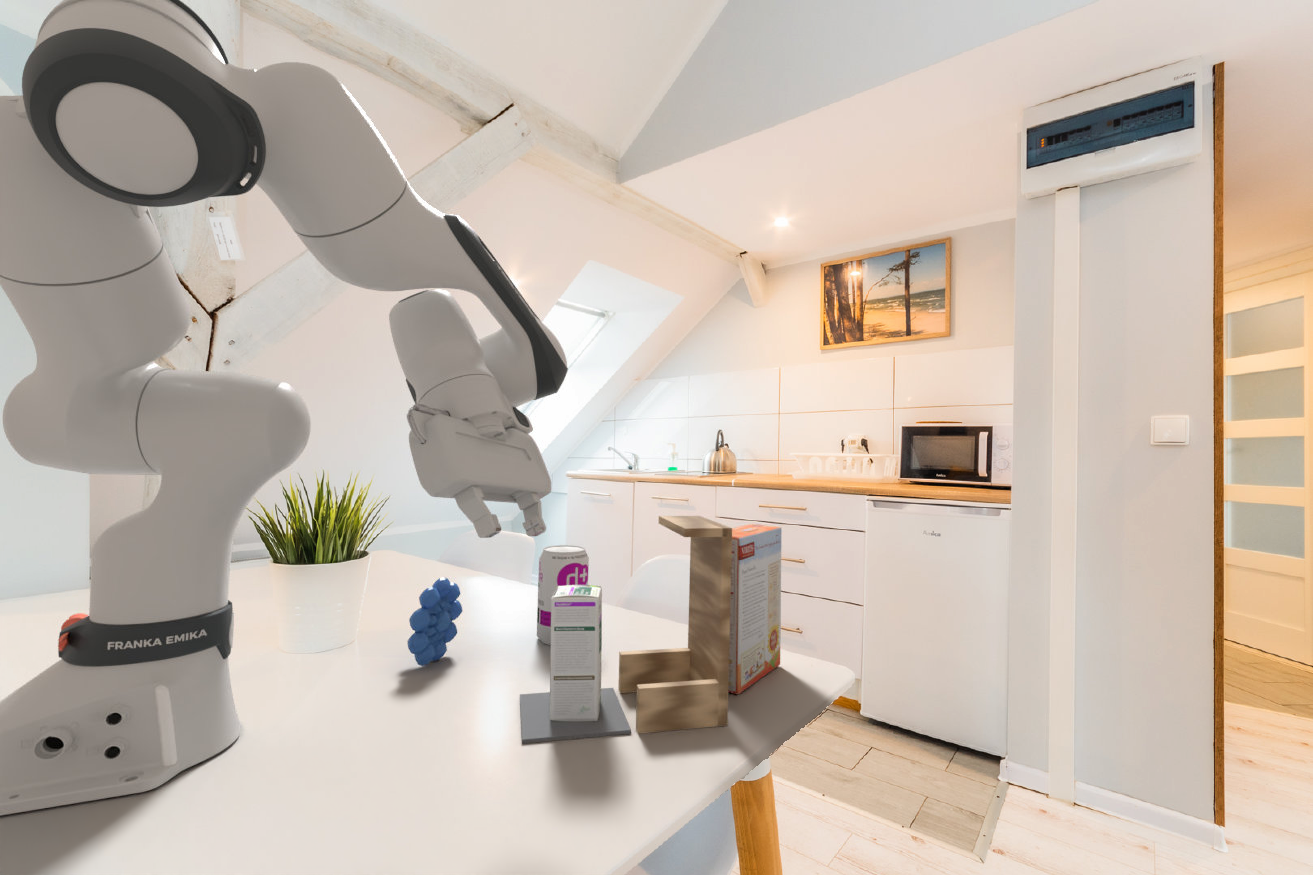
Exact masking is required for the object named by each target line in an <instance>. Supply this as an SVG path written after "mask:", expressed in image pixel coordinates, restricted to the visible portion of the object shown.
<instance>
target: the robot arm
mask: <svg viewBox="0 0 1313 875" xmlns="http://www.w3.org/2000/svg"><path fill="white" fill-rule="evenodd" d="M21 92H22V95H0V287H1V288H2V290H3V291H4V293H5V295H6V297H7V298H8V300H9V301H10V304H12V306H13V308H14V310H15V311H16V313H17V314H18V317H19V318H20V320H21V321H22V323H23V325H24V327H25V329H26V330H27V333H28V334H29V336H30V339H31V340H32V343H33V345H34V348H35V352H36V353H35V354H36V365H35V369H34V370H33V371H32V372H31V373H30V374H28V375H27V376H25V377H24V378H22V379H21V380H20V381H19V383H17V384H16V385H15V386H14V388H13V389H12V390H11V391H10V393H9V395H8V396H7V398H6V400H5V402H4V405H3V409H2V426H3V427H2V428H3V431H4V434H5V436H6V439H7V440H8V442H9V443H10V444H9V445H10V446H11V447H12V448H13V450H14V451H15V452H16V453H17V454H18V455H19V456H20V457H21V458H23V459H24V460H25V461H27V462H29V463H31V464H34V465H39V466H43V467H48V468H53V469H59V470H63V471H69V472H76V473H82V474H88V475H120V476H121V475H123V476H126V475H127V476H129V475H130V476H131V475H133V476H136V475H137V476H139V475H140V476H160V477H161V480H160V485H159V489H158V492H157V494H156V495H155V497H154V499H153V501H152V502H151V503H150V504H149V506H148V507H146V508H144V509H142V510H139V511H137V512H134V513H132V514H129V515H127V516H125V517H123V518H121V519H119V520H117V521H116V522H114V523H112V524H110V525H109V526H108V527H107V528H106V529H105V530H104V531H102V533H101V534H100V535H99V536H98V538H97V539H96V541H95V542H94V544H93V546H92V547H91V548H92V549H91V564H90V565H91V566H90V585H89V586H90V588H89V589H90V590H89V608H88V610H89V612H88V613H89V614H86V613H83V612H82V613H81V612H80V613H78V612H77V613H75V614H72V615H70V616H69V617H68V619H66V620H65V621H64V622H63V623H62V625H61V628H60V632H59V636H58V642H57V647H58V648H57V649H58V650H57V651H58V652H57V653H58V658H60V659H59V660H57V661H56V662H55V663H54V664H52V665H50V666H49V667H47V668H46V669H45V670H43V671H41V672H40V673H39V674H38V675H36V676H34V677H33V678H32V679H31V678H30V680H28V681H27V682H26V683H24V684H23V685H22V686H19V687H18V688H16V690H14V691H13V692H11V693H10V694H8V695H7V696H6V697H4V698H3V699H0V816H5V815H6V816H7V815H11V814H17V813H23V812H30V811H35V810H42V809H46V808H55V807H60V806H67V805H72V804H79V803H84V802H90V801H97V800H103V799H107V798H114V797H115V798H116V797H121V796H127V795H131V794H138V793H139V794H140V793H145V792H147V791H150V790H151V791H152V790H153V789H156V788H158V787H160V786H162V785H163V784H165V783H166V782H168V781H169V780H171V779H172V778H173V777H175V776H176V775H178V774H179V773H181V772H183V771H184V770H186V769H188V768H191V767H192V766H195V765H197V764H199V763H201V762H204V761H206V760H207V759H210V758H213V757H214V756H215V755H217V754H219V753H221V752H222V751H224V750H225V749H226V748H228V747H230V746H231V745H232V744H233V743H234V742H236V740H237V739H238V738H239V737H240V735H241V733H242V724H241V721H240V718H239V714H238V712H237V708H236V704H235V699H234V696H233V695H234V694H233V689H232V683H231V674H230V673H231V672H230V664H229V660H230V659H229V656H230V654H231V652H232V648H233V643H234V642H233V641H234V626H235V624H234V623H235V617H234V616H235V615H234V614H235V613H234V611H233V610H234V609H233V602H232V601H231V600H230V599H229V588H230V587H229V586H230V585H229V584H230V574H231V573H230V572H231V565H232V564H231V563H232V553H233V546H234V540H235V535H236V532H237V531H236V530H237V529H238V528H237V527H238V525H239V522H240V519H241V518H242V515H243V513H244V512H245V510H246V508H247V507H248V506H249V503H250V501H251V500H252V499H253V498H254V497H255V495H256V494H257V493H258V492H259V491H260V489H261V488H262V487H264V486H265V484H266V483H268V482H269V481H270V480H272V478H274V477H275V476H277V475H278V474H280V473H281V472H283V471H285V470H286V469H288V468H289V467H290V466H291V465H293V464H294V463H295V462H296V461H297V460H298V459H299V457H300V456H301V454H302V453H303V452H304V451H305V448H306V447H307V445H308V442H309V439H310V434H311V427H312V426H311V424H312V423H311V417H310V413H309V409H308V407H307V405H306V402H305V401H304V399H303V398H302V396H301V395H300V394H299V392H297V390H296V389H295V388H294V387H293V386H292V385H291V384H289V383H287V382H285V381H280V380H275V379H271V378H267V377H263V376H258V375H253V374H248V373H244V372H233V371H230V372H229V371H213V370H212V371H210V370H209V371H205V370H191V369H190V370H187V369H172V368H165V367H162V366H161V365H159V364H157V363H156V362H155V361H156V360H158V359H160V358H161V357H163V356H164V355H166V354H168V353H169V352H170V351H173V349H175V348H176V347H177V346H179V345H180V343H181V342H182V341H183V340H184V338H185V337H186V336H187V333H188V331H189V327H190V324H191V318H192V316H191V306H190V303H189V302H188V299H187V297H186V295H185V291H184V290H183V287H182V285H181V282H180V280H179V278H178V275H177V272H176V270H175V268H174V265H173V263H172V261H171V258H170V255H169V254H168V251H167V248H166V246H165V243H164V242H163V238H162V236H161V234H160V232H159V229H158V228H157V224H156V223H155V221H154V220H155V219H154V218H153V216H152V214H151V211H150V208H152V207H153V208H164V207H165V208H167V207H177V206H183V205H187V204H192V203H194V202H195V203H196V202H199V201H202V200H205V199H208V198H219V197H231V196H239V195H243V194H246V193H248V192H250V191H251V190H252V189H253V188H254V186H255V185H257V186H258V188H260V189H261V190H262V191H263V193H265V195H267V197H269V199H270V201H272V203H273V204H274V205H275V207H276V208H277V209H278V211H279V212H280V213H281V215H282V216H283V217H284V219H285V220H286V222H287V223H288V225H289V226H290V227H291V229H292V230H293V232H294V233H295V234H296V235H297V237H298V238H299V239H300V240H301V242H302V243H303V245H304V246H305V248H306V249H308V251H309V252H310V253H311V255H312V256H313V257H314V258H315V259H316V260H317V261H318V263H319V264H321V265H322V266H323V268H325V269H326V271H328V273H331V274H332V276H334V277H335V278H336V279H339V280H341V281H343V282H345V283H347V284H349V285H352V286H355V287H357V288H358V287H359V288H362V289H366V290H372V291H376V292H378V291H379V292H402V291H412V290H420V289H421V290H422V289H423V291H419V292H417V293H414V294H412V295H409V296H406V297H405V298H402V299H401V300H399V301H398V302H397V303H396V304H395V305H393V307H392V308H391V309H390V311H389V315H388V316H389V317H388V319H389V320H388V321H389V327H390V328H389V329H390V332H391V337H392V341H393V345H394V349H395V351H396V355H397V358H398V361H399V363H400V367H401V368H402V372H403V374H404V376H405V381H406V384H407V388H408V390H409V392H410V396H411V398H412V400H413V403H414V405H412V406H411V407H410V408H409V409H408V412H407V413H406V419H407V423H408V426H409V428H410V432H409V433H408V443H409V448H410V453H411V456H412V462H413V464H414V469H415V471H416V475H417V478H418V481H419V483H420V485H421V487H422V489H423V490H425V492H426V493H427V494H428V495H429V496H430V497H433V498H441V499H442V498H445V499H454V500H455V501H456V505H457V507H458V508H459V510H460V511H461V512H462V513H463V514H464V515H465V516H466V518H468V520H470V522H471V523H472V524H473V526H474V529H475V532H476V535H477V536H478V537H479V538H480V539H486V538H487V539H490V538H493V537H495V536H496V535H499V533H500V532H501V531H502V526H501V524H500V523H499V519H498V516H497V514H494V513H493V514H492V513H491V511H490V509H489V508H488V506H487V504H486V503H485V502H497V503H507V504H508V503H510V504H517V505H518V508H519V510H520V511H522V513H523V517H524V521H523V522H522V527H523V529H524V530H525V534H526V535H527V536H528V537H539V536H541V535H542V534H544V533H545V532H546V531H547V526H546V524H545V522H544V519H543V515H542V514H543V513H542V510H543V509H542V501H541V499H543V498H544V497H545V496H547V495H549V494H550V493H551V492H552V480H551V477H550V474H549V471H548V469H547V466H546V463H545V461H544V459H543V455H542V453H541V451H540V448H539V447H538V445H537V443H536V441H535V440H534V438H533V437H532V436H531V435H530V433H531V432H532V431H534V427H533V425H532V423H531V421H530V419H529V417H528V416H527V415H526V414H525V413H523V412H522V411H521V410H519V409H518V407H520V406H523V405H524V404H527V403H529V402H531V401H537V400H540V399H542V398H545V397H548V396H551V395H554V394H557V393H558V392H559V390H560V388H561V386H562V385H563V383H564V381H565V378H566V375H567V374H568V370H569V368H568V360H567V357H566V354H565V351H564V348H563V346H562V344H561V343H560V341H559V340H558V338H557V337H556V336H555V334H554V333H553V332H552V330H551V329H549V328H548V326H546V325H545V324H544V323H543V322H542V320H541V319H540V318H539V316H538V315H537V314H536V313H535V312H534V310H532V308H531V307H530V305H529V303H528V302H527V301H526V299H525V298H524V297H523V295H522V294H521V292H520V291H519V290H518V288H517V286H516V285H515V284H514V283H513V281H512V280H511V278H510V277H509V276H508V274H507V272H506V271H505V270H504V269H503V267H502V266H501V264H500V263H499V261H498V260H497V259H496V257H495V256H494V254H493V253H492V252H491V251H490V249H489V248H488V246H487V245H486V244H485V243H484V241H483V240H482V239H481V237H480V236H479V235H478V234H477V232H476V231H475V230H474V229H473V228H472V227H471V226H470V225H469V223H468V222H466V221H465V219H463V218H461V217H460V216H459V215H456V214H450V213H442V212H441V211H439V210H437V209H436V208H434V207H433V206H431V205H429V204H428V203H427V202H426V201H425V200H423V199H422V197H420V196H419V194H417V192H416V191H415V190H414V189H413V188H412V186H411V185H410V183H409V181H408V180H407V178H406V176H405V174H404V172H403V170H402V169H401V167H400V165H399V163H398V162H397V159H396V158H395V155H393V153H392V152H391V150H390V148H389V146H388V145H387V143H386V141H385V140H384V139H383V137H382V136H381V134H380V132H379V131H378V129H377V128H376V127H375V125H374V123H373V122H372V121H371V118H369V116H368V115H367V114H366V112H365V111H364V110H363V109H362V107H361V106H360V104H359V102H357V100H356V99H355V98H354V96H353V95H352V94H351V93H350V92H349V90H348V89H347V88H346V87H345V85H344V84H343V83H342V82H341V81H340V79H339V78H338V77H336V76H335V75H333V74H332V73H331V72H329V71H328V70H326V69H324V68H322V67H320V66H319V65H318V66H317V65H313V64H311V63H306V62H305V63H304V62H298V61H287V62H286V61H285V62H279V63H278V62H277V63H273V64H269V65H266V66H264V67H262V68H259V69H258V70H257V69H256V68H250V69H247V68H242V67H238V66H235V65H234V64H232V63H230V62H229V59H228V57H227V55H226V53H225V50H224V48H223V46H222V44H221V42H220V41H219V39H218V38H217V36H216V35H215V34H214V32H213V30H211V28H210V27H209V25H208V24H207V23H206V22H205V21H204V20H203V19H202V17H200V15H199V14H198V13H196V12H195V10H193V9H192V8H190V7H189V6H188V5H187V4H186V3H185V2H183V0H62V1H61V2H59V4H57V5H56V6H55V7H54V8H53V9H52V10H51V11H50V12H49V14H47V16H46V17H45V19H44V20H43V22H42V23H41V25H40V28H39V29H38V33H37V37H36V42H35V45H34V48H33V50H32V52H31V53H30V54H29V56H28V58H27V59H26V61H25V65H24V68H23V70H22V76H21ZM244 179H246V180H247V181H246V183H245V184H244V185H242V184H241V183H242V181H243V180H244ZM424 289H426V290H424ZM443 289H452V290H453V289H454V290H461V291H464V292H467V293H471V295H473V296H475V297H477V298H478V299H479V301H480V302H482V304H483V305H484V306H485V308H486V309H487V310H488V312H489V313H490V314H491V316H493V318H494V319H495V320H496V321H497V323H498V324H499V325H500V326H501V328H500V329H499V330H497V331H496V332H494V333H493V332H492V333H491V334H489V335H487V336H484V337H482V338H478V335H477V334H476V332H475V330H474V328H473V326H472V324H471V322H470V320H469V319H468V317H467V316H466V314H465V312H464V311H463V309H462V308H461V306H460V305H459V303H458V301H457V300H456V298H455V297H454V296H453V294H451V293H450V292H449V291H447V290H443Z"/></svg>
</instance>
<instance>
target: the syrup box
mask: <svg viewBox="0 0 1313 875" xmlns="http://www.w3.org/2000/svg"><path fill="white" fill-rule="evenodd" d="M602 598H603V587H602V586H600V585H591V584H588V585H566V586H558V588H557V590H556V591H555V592H554V594H553V596H552V598H551V645H550V649H549V650H550V652H549V653H550V656H549V657H550V659H549V661H550V663H549V664H550V665H549V666H550V668H549V670H550V672H549V692H550V720H553V721H597V720H598V716H599V711H600V703H601V689H602V651H603V650H602V642H603V641H602V640H603V639H602V637H603V636H602V634H603V633H602V629H603V628H602V625H603V624H602V623H603V621H602V618H603V617H602V616H603V615H602V613H603V611H602V610H603V609H602V606H603V600H602Z"/></svg>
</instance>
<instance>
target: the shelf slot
mask: <svg viewBox="0 0 1313 875" xmlns="http://www.w3.org/2000/svg"><path fill="white" fill-rule="evenodd" d="M658 524H659V525H661V526H663V527H664V528H666V529H668V530H670V531H671V532H674V533H676V534H678V535H680V536H682V537H684V538H690V543H689V544H690V546H689V547H690V552H689V555H690V556H689V585H688V586H689V591H688V592H689V594H688V600H689V601H688V628H687V630H688V634H687V647H682V648H681V647H679V648H677V647H675V648H662V649H660V648H659V649H643V650H627V651H626V650H623V651H619V652H618V653H619V654H618V656H619V657H618V685H617V686H618V688H617V690H618V692H619V694H627V693H630V694H631V693H636V708H635V709H636V712H635V729H636V733H637V734H646V733H655V732H656V733H658V732H669V731H680V730H689V729H690V730H691V729H700V728H701V729H702V728H711V727H712V728H715V727H723V726H728V720H729V719H728V716H729V714H728V713H729V692H728V682H729V640H730V598H731V556H732V528H733V527H730V526H728V525H725V524H722V523H719V522H717V521H714V520H712V519H709V518H706V517H704V516H701V515H658Z"/></svg>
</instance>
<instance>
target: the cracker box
mask: <svg viewBox="0 0 1313 875" xmlns="http://www.w3.org/2000/svg"><path fill="white" fill-rule="evenodd" d="M731 528H732V556H731V598H730V640H729V682H728V693H730V694H731V693H732V694H735V695H740V694H741V693H743V692H744V691H745V690H747V689H748V688H749V687H751V686H753V685H754V684H756V683H757V682H758V681H759V680H761V679H762V678H763V677H765V676H766V675H768V674H769V673H771V672H772V671H774V669H776V668H778V667H779V666H780V665H781V636H782V633H781V632H782V630H781V629H782V628H781V627H782V626H781V625H782V623H781V621H782V620H781V619H782V616H781V615H782V612H781V611H782V610H781V609H782V608H781V606H782V603H781V602H782V527H780V526H770V525H765V524H764V525H763V524H754V523H753V524H745V525H742V526H741V525H740V526H737V527H731Z"/></svg>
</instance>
